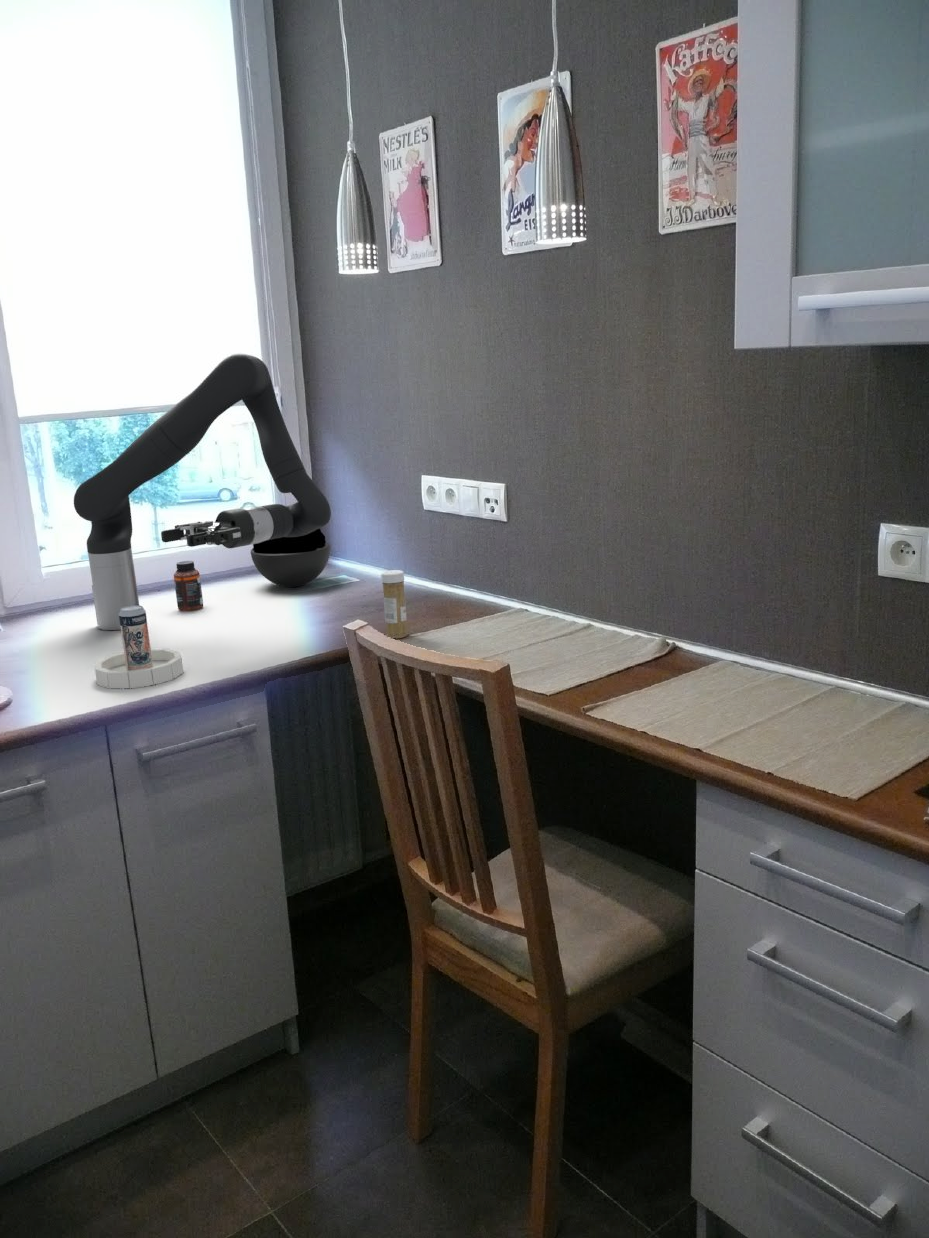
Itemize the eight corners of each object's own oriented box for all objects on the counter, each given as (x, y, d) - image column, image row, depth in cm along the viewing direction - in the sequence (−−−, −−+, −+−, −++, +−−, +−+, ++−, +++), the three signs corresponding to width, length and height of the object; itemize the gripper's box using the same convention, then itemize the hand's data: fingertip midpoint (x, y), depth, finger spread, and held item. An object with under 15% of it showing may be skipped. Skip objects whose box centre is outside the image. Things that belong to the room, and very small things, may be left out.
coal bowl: (349, 580, 267) (343, 507, 262) (300, 597, 250) (292, 520, 246) (288, 575, 277) (282, 505, 272) (237, 592, 260) (229, 517, 256)
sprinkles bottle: (412, 636, 210) (407, 571, 207) (392, 640, 208) (388, 575, 204) (401, 631, 214) (396, 568, 211) (381, 636, 212) (376, 571, 208)
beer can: (129, 675, 190) (120, 612, 187) (124, 669, 194) (115, 607, 191) (155, 670, 192) (147, 608, 189) (150, 664, 196) (142, 603, 194)
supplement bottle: (209, 607, 246) (203, 560, 243) (190, 613, 241) (184, 565, 238) (191, 605, 249) (185, 559, 246) (172, 610, 244) (166, 563, 241)
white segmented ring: (81, 679, 193) (79, 664, 192) (153, 659, 204) (151, 644, 203) (125, 693, 183) (123, 677, 182) (199, 671, 194) (197, 656, 193)
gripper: (221, 505, 211) (151, 516, 199) (265, 510, 202) (195, 522, 190) (225, 541, 213) (156, 554, 201) (268, 548, 204) (198, 562, 192)
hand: (175, 539), depth 195 cm, fingers open, 8 cm apart
